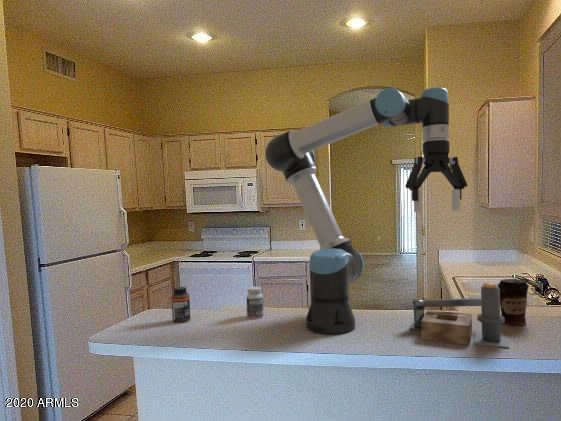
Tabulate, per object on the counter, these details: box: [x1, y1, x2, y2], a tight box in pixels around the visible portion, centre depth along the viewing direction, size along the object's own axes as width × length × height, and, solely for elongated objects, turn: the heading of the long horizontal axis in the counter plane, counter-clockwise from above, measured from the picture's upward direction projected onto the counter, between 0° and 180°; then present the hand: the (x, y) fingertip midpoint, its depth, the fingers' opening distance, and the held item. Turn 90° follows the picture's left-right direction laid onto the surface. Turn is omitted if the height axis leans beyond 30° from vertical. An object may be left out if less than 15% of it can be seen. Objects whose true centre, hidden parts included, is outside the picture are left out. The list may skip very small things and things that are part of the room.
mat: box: [473, 333, 510, 349], centre depth 107 cm, size 8×8×1 cm
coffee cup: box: [497, 278, 530, 326], centre depth 121 cm, size 9×8×13 cm
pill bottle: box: [246, 286, 265, 320], centre depth 138 cm, size 6×6×10 cm
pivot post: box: [408, 307, 425, 332], centre depth 119 cm, size 5×5×6 cm
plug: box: [477, 282, 505, 343], centre depth 107 cm, size 6×6×15 cm
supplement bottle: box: [171, 286, 191, 323], centre depth 135 cm, size 6×6×11 cm
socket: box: [420, 309, 473, 346], centre depth 113 cm, size 12×12×5 cm
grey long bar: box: [411, 297, 481, 309], centre depth 119 cm, size 20×4×2 cm, turn 87°
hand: (437, 211), depth 121 cm, fingers open, 13 cm apart
